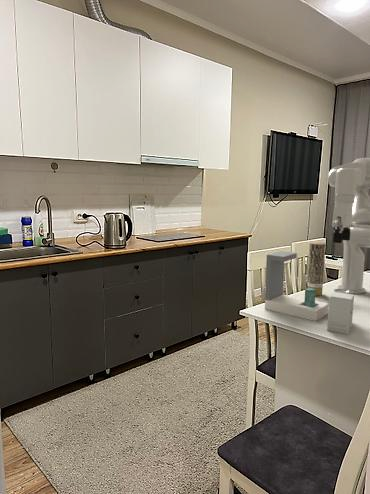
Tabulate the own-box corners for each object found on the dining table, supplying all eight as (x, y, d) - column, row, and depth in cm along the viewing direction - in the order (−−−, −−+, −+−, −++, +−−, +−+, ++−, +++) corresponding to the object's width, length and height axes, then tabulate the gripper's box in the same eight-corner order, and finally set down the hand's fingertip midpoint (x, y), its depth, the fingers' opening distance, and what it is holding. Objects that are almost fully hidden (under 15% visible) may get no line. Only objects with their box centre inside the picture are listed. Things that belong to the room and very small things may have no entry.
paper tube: (322, 293, 179) (325, 241, 175) (321, 296, 173) (324, 243, 169) (308, 291, 182) (310, 240, 178) (306, 295, 176) (309, 242, 172)
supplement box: (348, 334, 128) (351, 299, 126) (326, 330, 132) (328, 296, 130) (352, 328, 135) (354, 294, 133) (330, 324, 138) (332, 291, 136)
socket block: (278, 302, 165) (280, 251, 161) (328, 313, 151) (331, 257, 147) (264, 308, 156) (266, 254, 152) (316, 321, 142) (319, 261, 138)
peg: (302, 312, 152) (304, 288, 150) (312, 312, 152) (314, 288, 150) (305, 315, 148) (306, 290, 146) (315, 315, 148) (316, 291, 146)
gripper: (342, 198, 159) (339, 238, 162) (327, 199, 146) (324, 242, 149) (360, 199, 154) (357, 240, 157) (346, 200, 142) (343, 244, 144)
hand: (341, 241), depth 153 cm, fingers open, 9 cm apart
